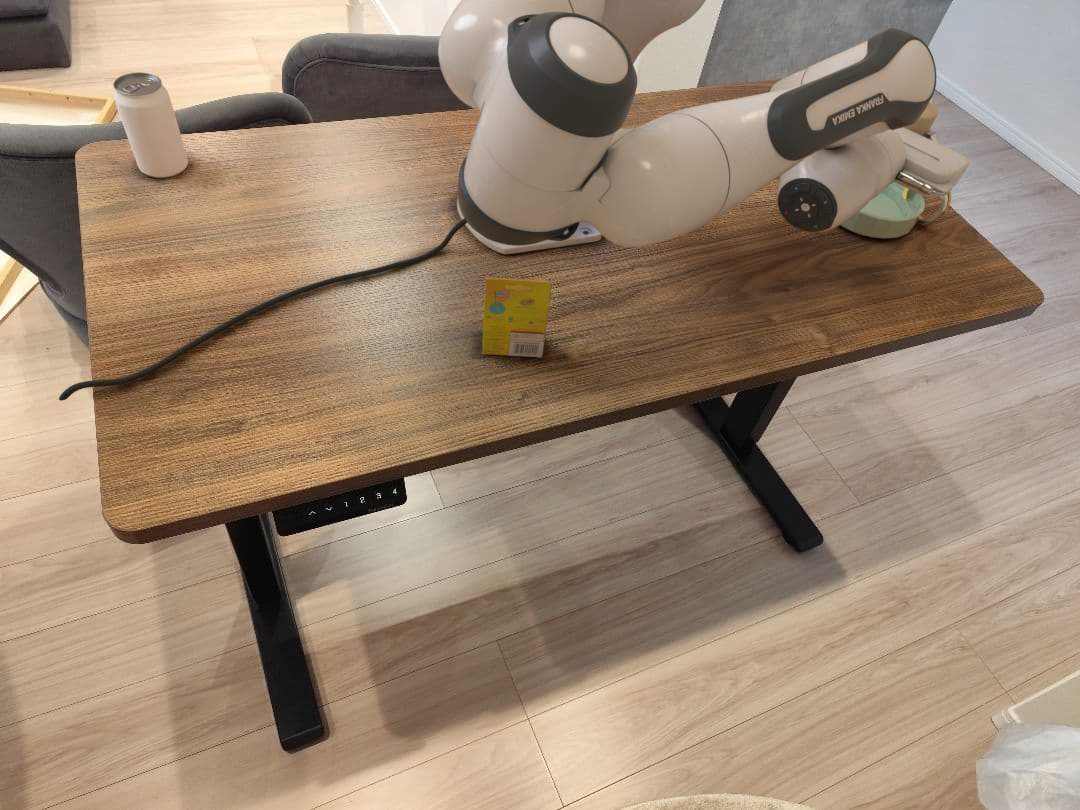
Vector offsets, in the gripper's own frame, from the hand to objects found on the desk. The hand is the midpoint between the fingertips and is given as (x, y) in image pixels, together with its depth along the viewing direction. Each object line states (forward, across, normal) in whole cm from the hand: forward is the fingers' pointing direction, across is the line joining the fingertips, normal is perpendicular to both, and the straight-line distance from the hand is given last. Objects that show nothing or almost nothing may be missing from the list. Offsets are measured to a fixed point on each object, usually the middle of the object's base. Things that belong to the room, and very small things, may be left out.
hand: (908, 125), depth 100 cm
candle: (-1, 0, +6) cm, 6 cm away
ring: (+9, -6, +16) cm, 20 cm away
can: (-69, +74, +18) cm, 103 cm away
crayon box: (-58, +17, +18) cm, 63 cm away
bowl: (+5, +1, +17) cm, 17 cm away
